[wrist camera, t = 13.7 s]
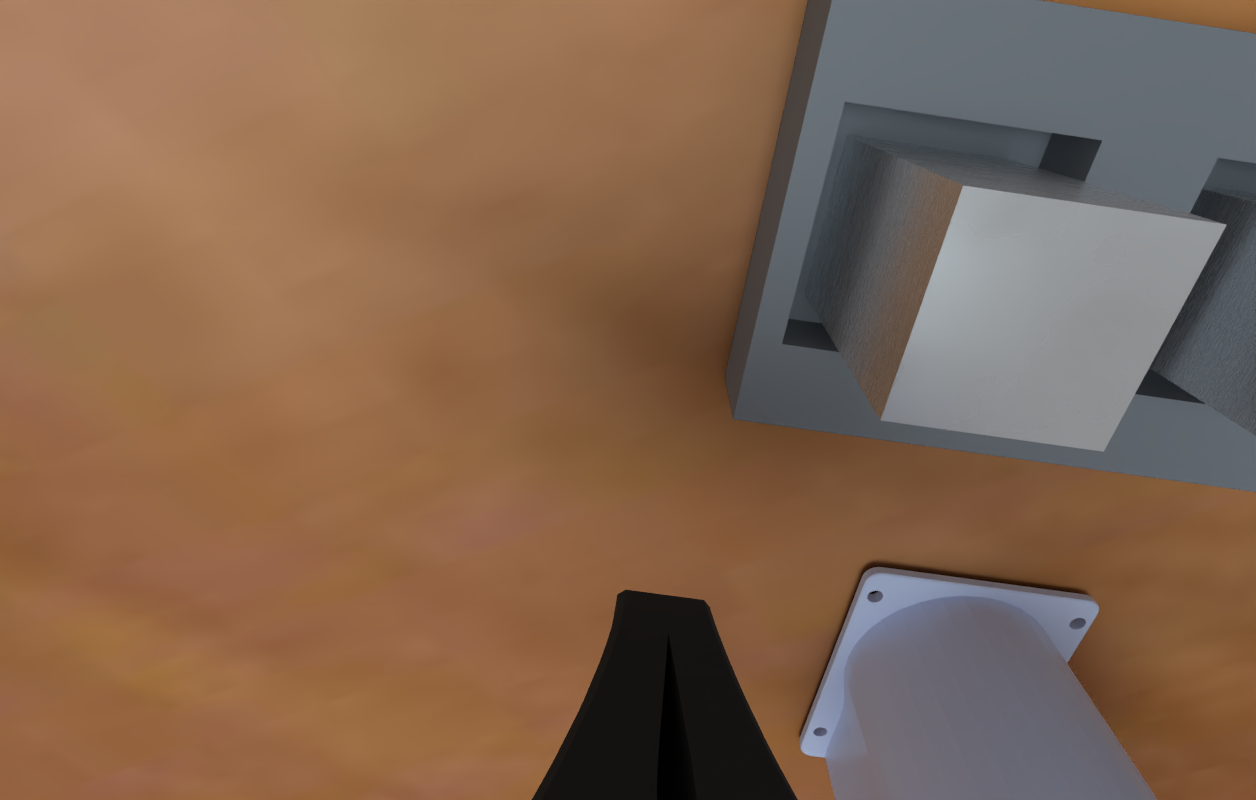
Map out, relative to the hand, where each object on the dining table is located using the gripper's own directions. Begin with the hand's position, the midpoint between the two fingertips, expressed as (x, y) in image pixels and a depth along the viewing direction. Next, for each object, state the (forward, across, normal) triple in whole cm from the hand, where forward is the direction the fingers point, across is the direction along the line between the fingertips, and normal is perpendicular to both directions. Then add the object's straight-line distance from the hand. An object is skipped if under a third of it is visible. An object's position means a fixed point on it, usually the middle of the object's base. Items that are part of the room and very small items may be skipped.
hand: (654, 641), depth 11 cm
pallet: (+10, -10, -5) cm, 15 cm away
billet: (+10, -6, -5) cm, 12 cm away
